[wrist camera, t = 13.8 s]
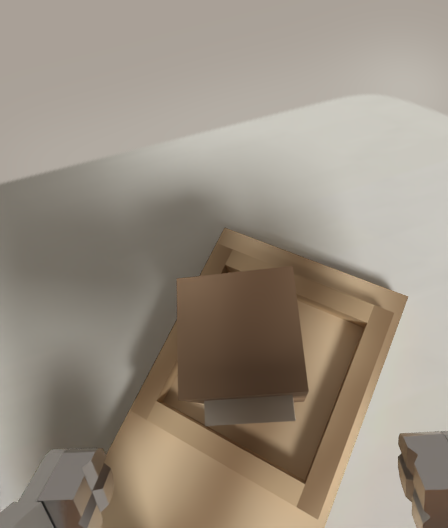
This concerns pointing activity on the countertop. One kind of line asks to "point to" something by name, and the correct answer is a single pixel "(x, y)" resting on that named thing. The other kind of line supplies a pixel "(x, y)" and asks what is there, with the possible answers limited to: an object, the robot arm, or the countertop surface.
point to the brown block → (241, 346)
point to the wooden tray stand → (257, 434)
